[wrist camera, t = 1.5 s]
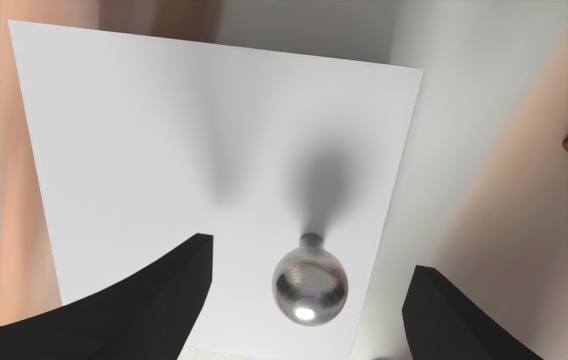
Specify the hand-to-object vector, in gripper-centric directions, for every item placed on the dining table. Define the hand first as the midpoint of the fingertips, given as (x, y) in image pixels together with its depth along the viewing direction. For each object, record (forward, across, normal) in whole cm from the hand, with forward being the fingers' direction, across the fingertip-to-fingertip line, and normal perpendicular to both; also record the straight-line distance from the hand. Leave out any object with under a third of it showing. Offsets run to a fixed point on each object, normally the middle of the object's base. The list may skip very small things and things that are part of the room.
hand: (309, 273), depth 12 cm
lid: (+3, +4, 0) cm, 5 cm away
